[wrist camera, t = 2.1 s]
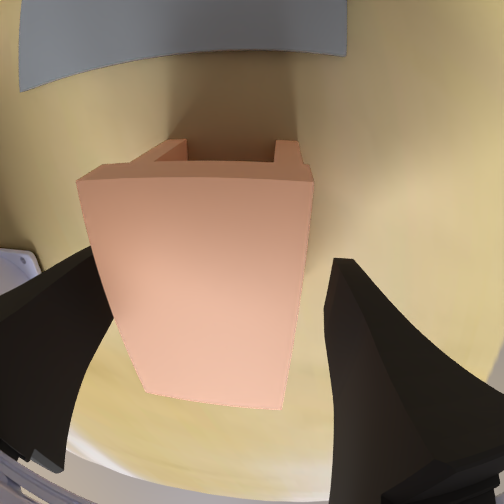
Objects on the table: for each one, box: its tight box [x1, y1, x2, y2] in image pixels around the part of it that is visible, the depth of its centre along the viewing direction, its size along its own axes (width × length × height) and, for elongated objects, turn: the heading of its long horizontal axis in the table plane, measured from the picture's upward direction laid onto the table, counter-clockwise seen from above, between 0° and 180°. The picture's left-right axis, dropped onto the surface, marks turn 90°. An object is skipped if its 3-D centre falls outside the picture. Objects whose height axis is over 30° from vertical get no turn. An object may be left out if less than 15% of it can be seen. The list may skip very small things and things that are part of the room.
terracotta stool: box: [76, 139, 314, 410], centre depth 10 cm, size 5×8×6 cm, turn 179°
